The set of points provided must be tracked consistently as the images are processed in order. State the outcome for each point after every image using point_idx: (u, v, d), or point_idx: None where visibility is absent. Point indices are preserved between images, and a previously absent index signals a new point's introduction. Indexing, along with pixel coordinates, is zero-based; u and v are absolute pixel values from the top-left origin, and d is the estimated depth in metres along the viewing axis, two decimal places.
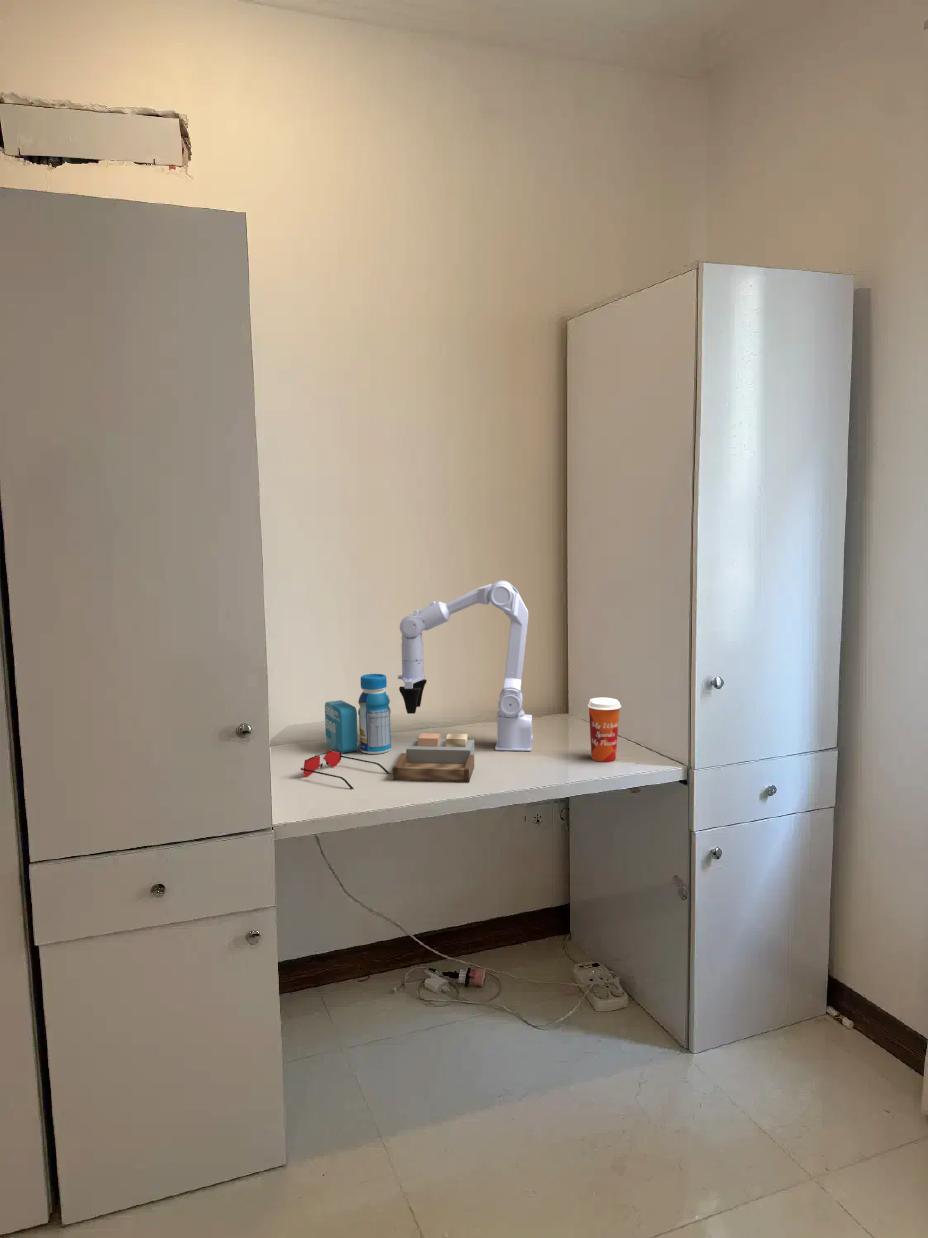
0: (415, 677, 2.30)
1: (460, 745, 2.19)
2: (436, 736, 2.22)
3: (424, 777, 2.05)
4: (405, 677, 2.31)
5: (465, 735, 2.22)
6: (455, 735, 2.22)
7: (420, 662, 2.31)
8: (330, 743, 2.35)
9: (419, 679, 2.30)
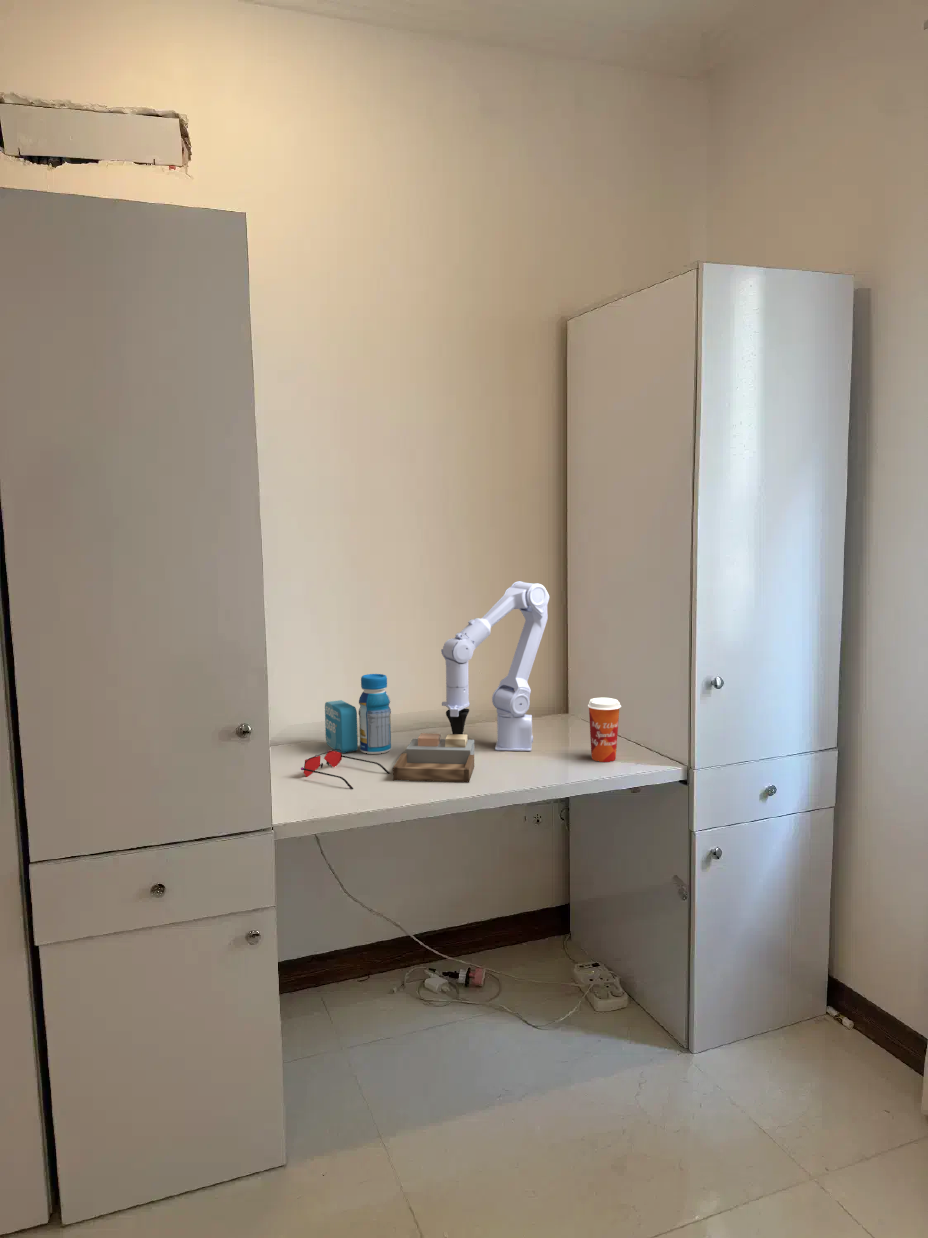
0: (460, 704, 2.21)
1: (460, 745, 2.19)
2: (436, 736, 2.22)
3: (424, 777, 2.05)
4: (450, 704, 2.21)
5: (465, 735, 2.22)
6: (455, 735, 2.22)
7: (465, 688, 2.21)
8: (330, 743, 2.35)
9: (464, 706, 2.20)
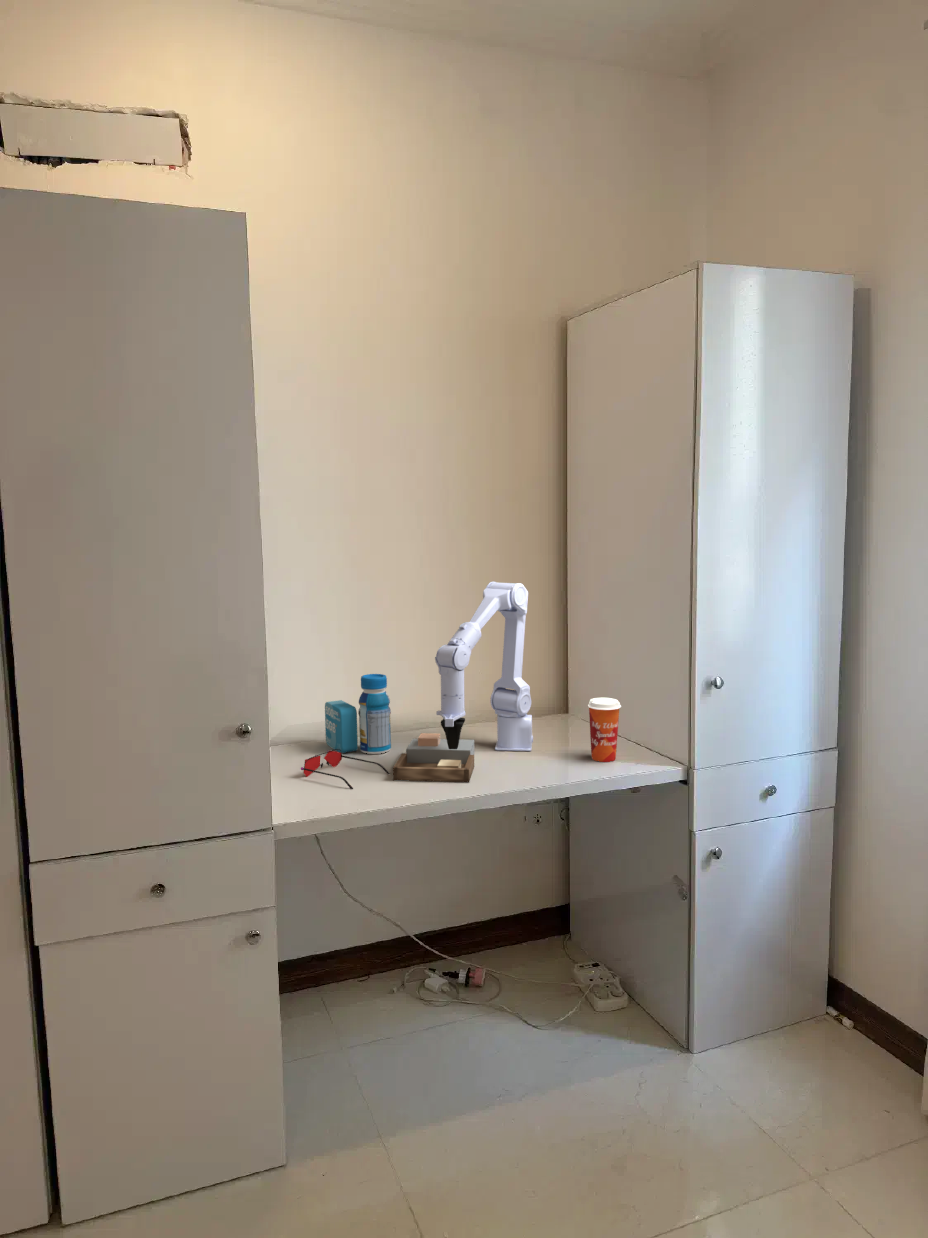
0: (456, 713, 2.11)
1: None
2: (436, 736, 2.22)
3: (424, 777, 2.05)
4: (445, 713, 2.11)
5: None
6: None
7: (461, 697, 2.11)
8: (330, 743, 2.35)
9: (460, 716, 2.11)
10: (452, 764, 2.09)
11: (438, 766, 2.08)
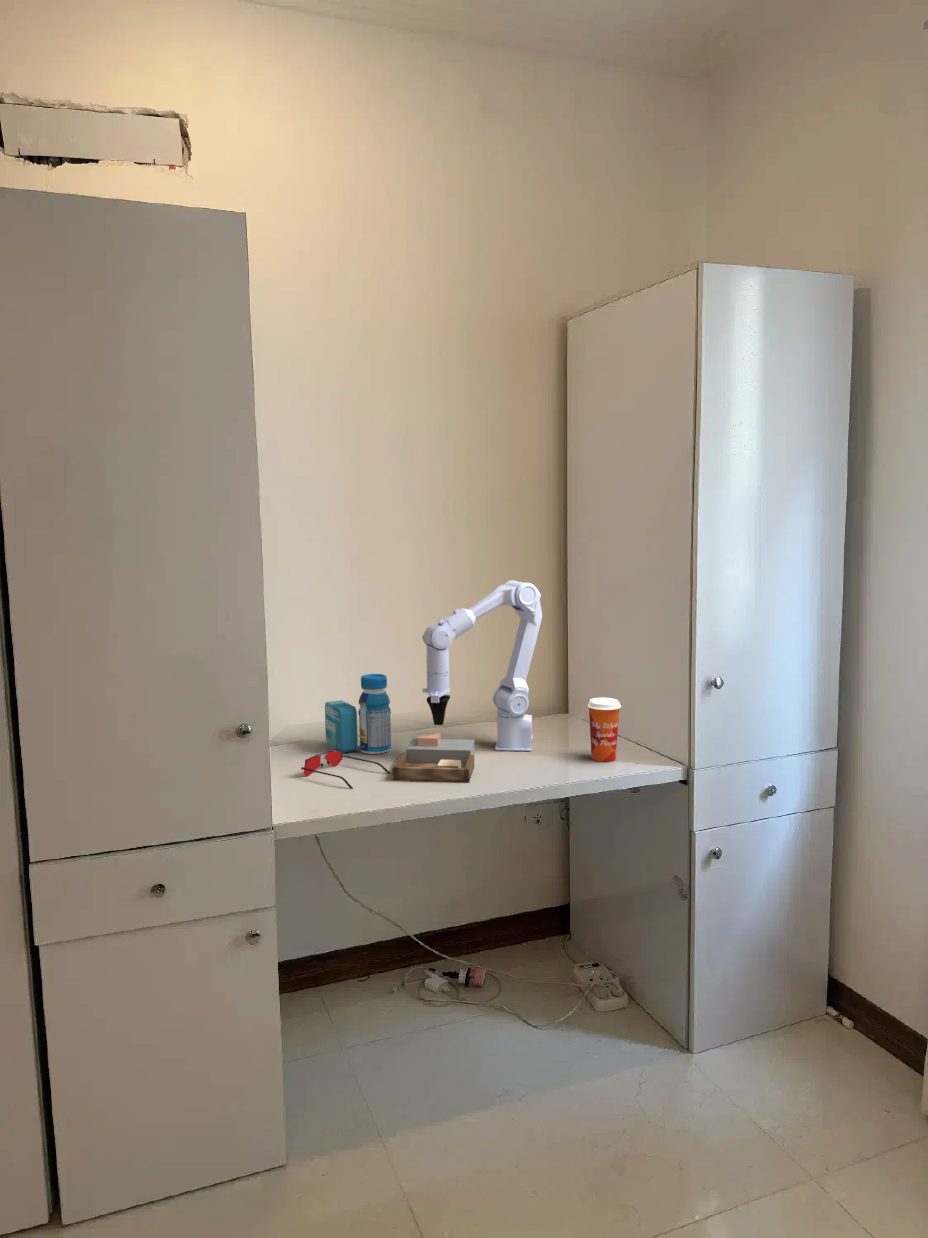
0: (441, 690, 2.20)
1: None
2: (436, 736, 2.22)
3: (424, 777, 2.05)
4: (430, 690, 2.21)
5: None
6: None
7: (446, 675, 2.21)
8: (330, 743, 2.35)
9: (445, 692, 2.20)
10: (452, 764, 2.09)
11: (438, 766, 2.08)
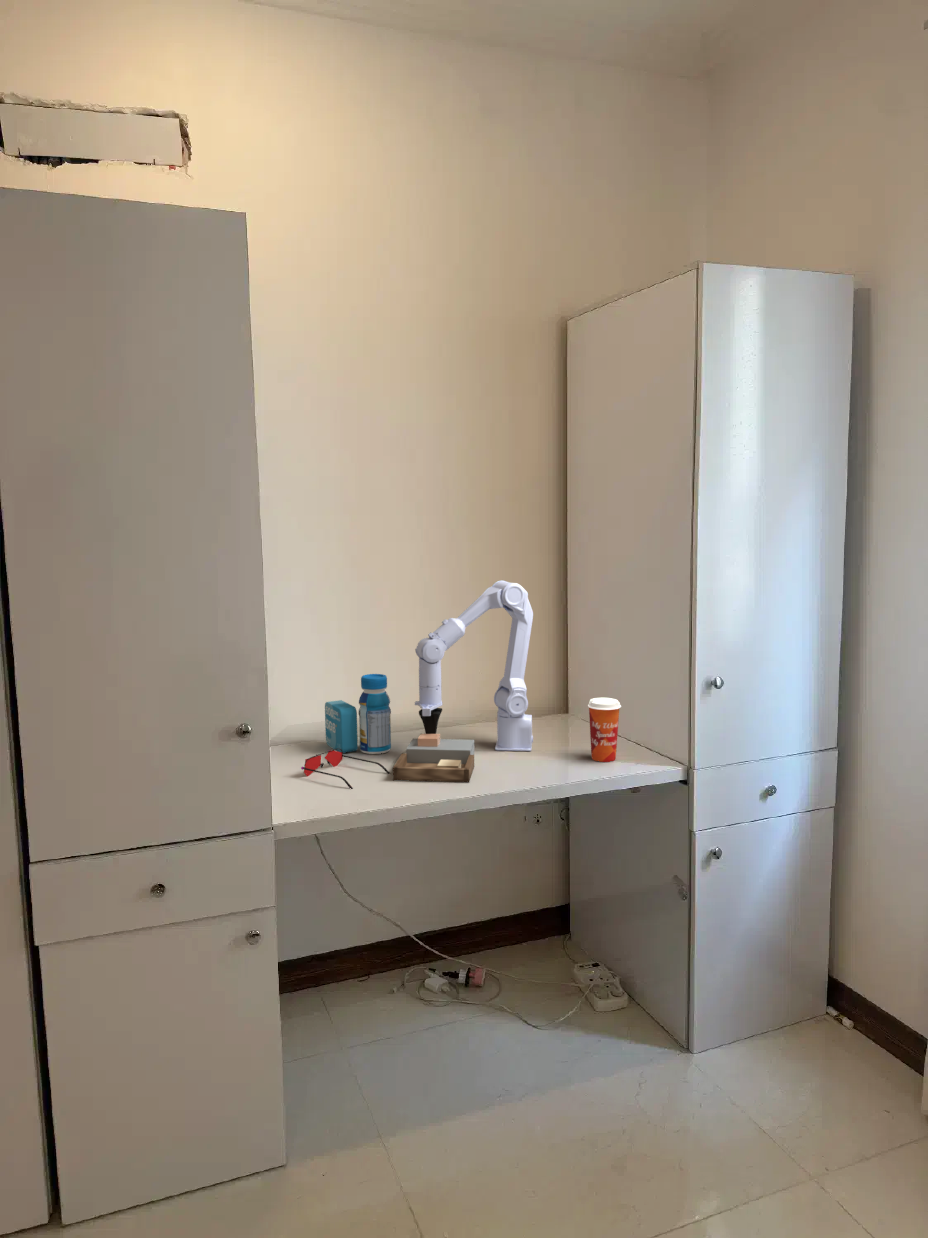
0: (433, 704, 2.22)
1: None
2: (436, 736, 2.21)
3: (424, 777, 2.05)
4: (422, 703, 2.22)
5: None
6: None
7: (438, 688, 2.22)
8: (330, 743, 2.35)
9: (437, 706, 2.21)
10: (452, 764, 2.09)
11: (438, 766, 2.08)
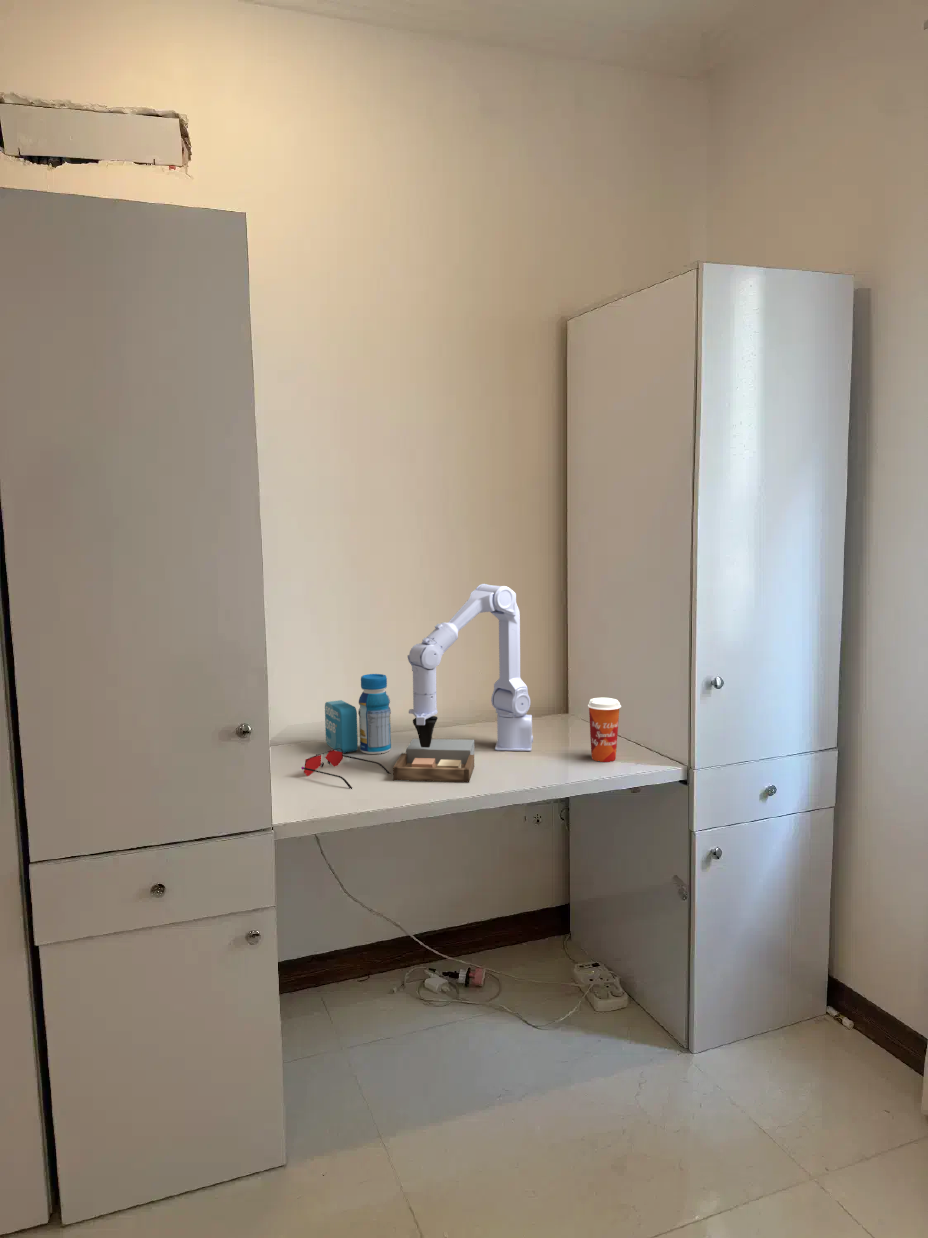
0: (427, 712, 2.13)
1: None
2: None
3: (424, 777, 2.05)
4: (417, 712, 2.13)
5: None
6: None
7: (433, 696, 2.13)
8: (330, 743, 2.35)
9: (432, 714, 2.12)
10: (452, 764, 2.09)
11: (438, 766, 2.08)
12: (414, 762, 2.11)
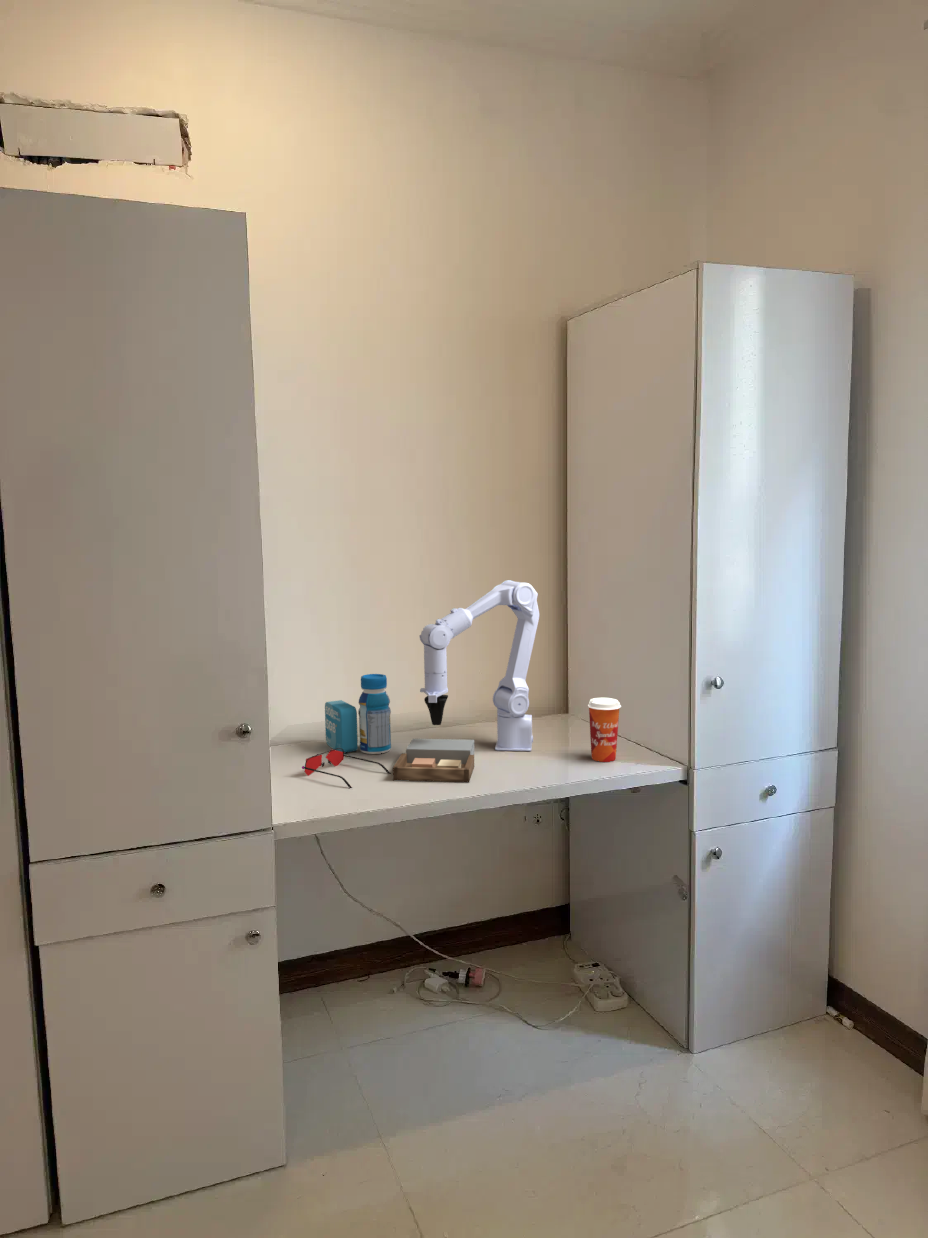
0: (439, 690, 2.19)
1: None
2: None
3: (424, 777, 2.05)
4: (428, 690, 2.20)
5: None
6: None
7: (444, 674, 2.20)
8: (330, 743, 2.35)
9: (443, 692, 2.19)
10: (452, 764, 2.09)
11: (438, 766, 2.08)
12: (414, 762, 2.11)
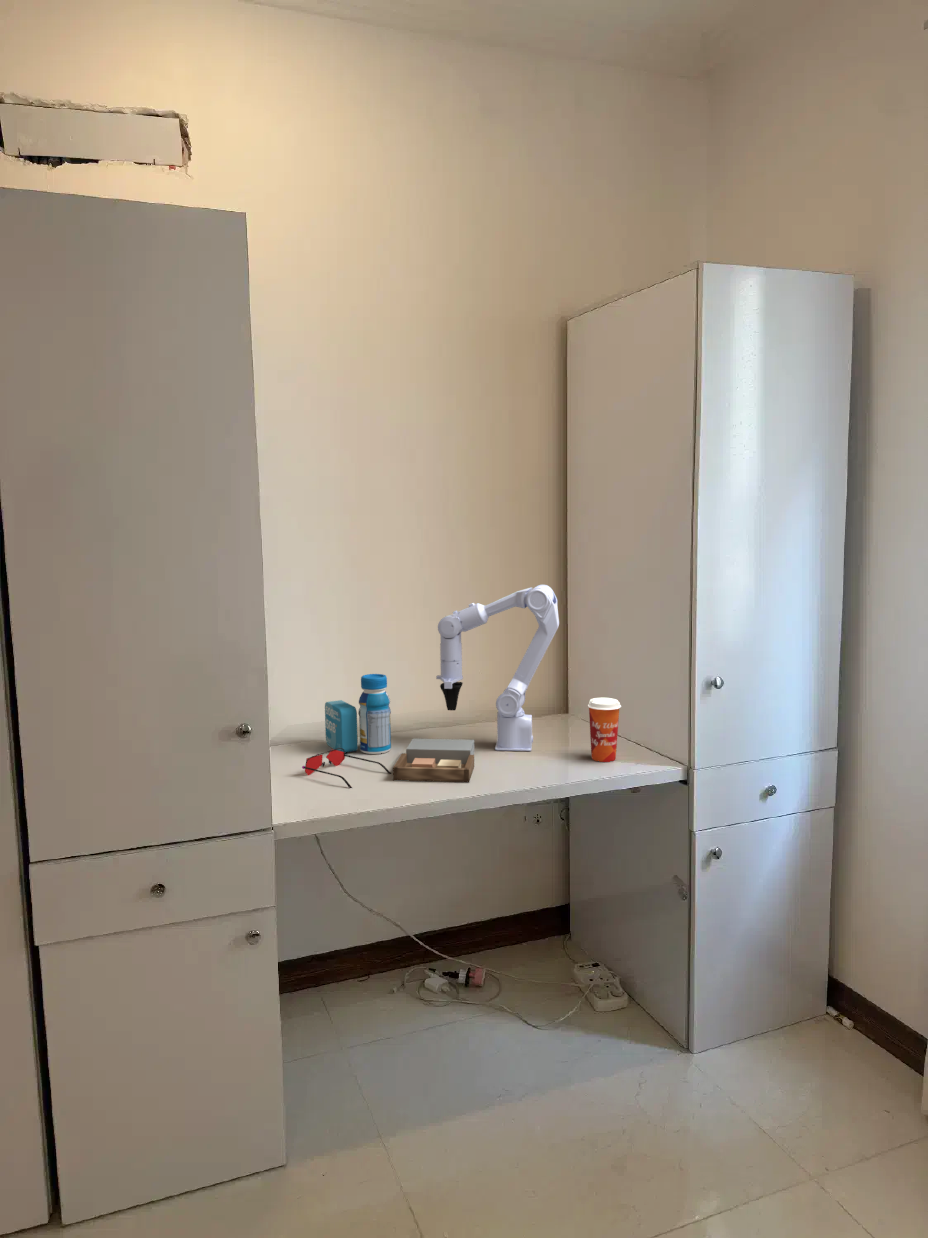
0: (454, 677, 2.32)
1: None
2: None
3: (424, 777, 2.05)
4: (444, 677, 2.32)
5: None
6: None
7: (459, 662, 2.32)
8: (330, 743, 2.35)
9: (458, 679, 2.32)
10: (452, 764, 2.09)
11: (438, 766, 2.08)
12: (414, 762, 2.11)
